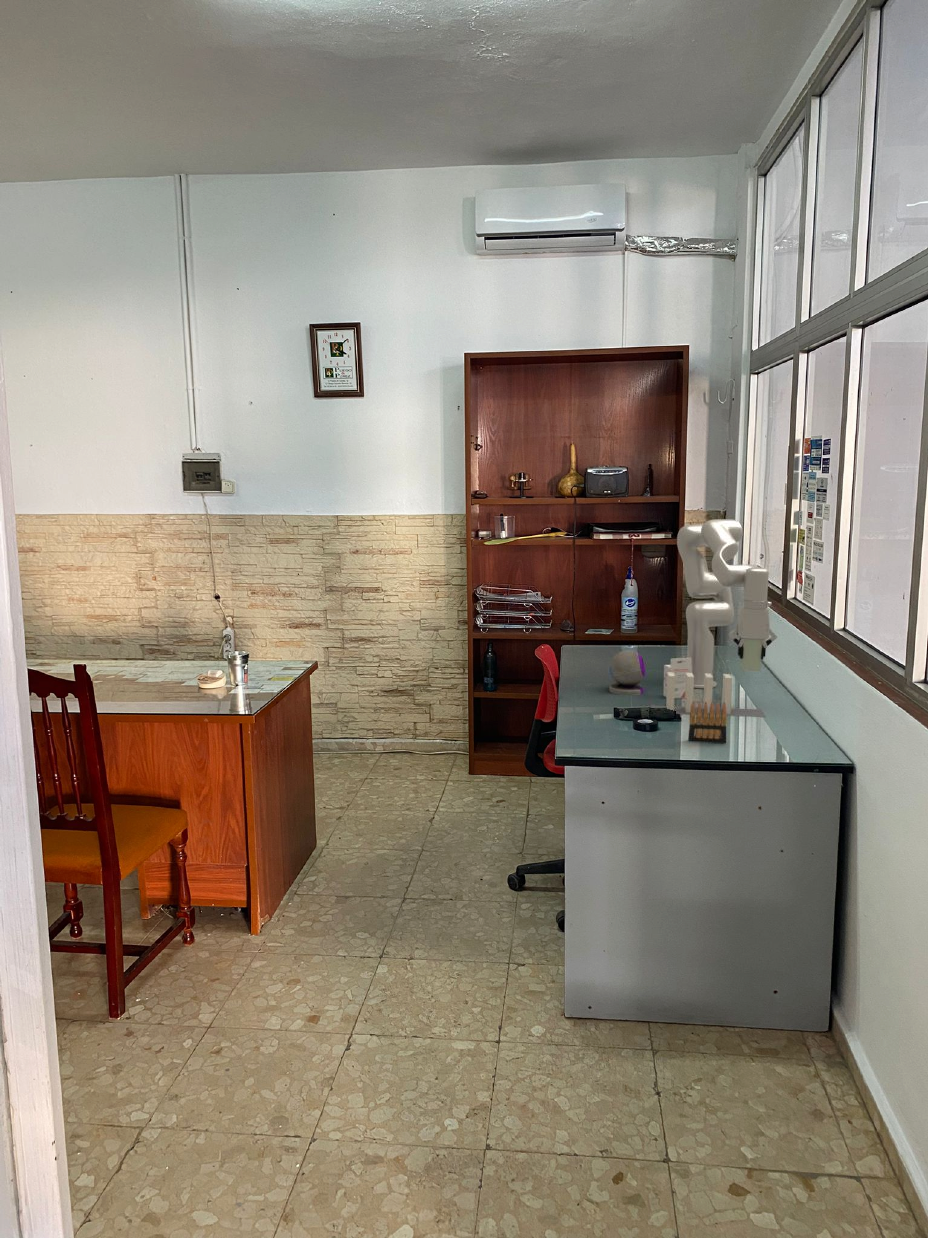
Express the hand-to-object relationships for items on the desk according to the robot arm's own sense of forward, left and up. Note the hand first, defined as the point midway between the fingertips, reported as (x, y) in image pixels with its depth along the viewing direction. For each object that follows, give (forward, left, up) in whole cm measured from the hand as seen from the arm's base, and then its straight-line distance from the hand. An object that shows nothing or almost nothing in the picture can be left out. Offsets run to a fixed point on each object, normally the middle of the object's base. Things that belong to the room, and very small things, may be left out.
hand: (751, 657), depth 303 cm
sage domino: (0, 0, -4) cm, 4 cm away
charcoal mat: (+10, -15, -17) cm, 24 cm away
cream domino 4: (+10, -9, -16) cm, 21 cm away
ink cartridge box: (-10, -23, -17) cm, 30 cm away
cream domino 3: (+10, -15, -16) cm, 24 cm away
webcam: (-18, -40, -17) cm, 47 cm away
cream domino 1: (+10, -27, -16) cm, 33 cm away
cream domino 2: (+9, -21, -16) cm, 28 cm away
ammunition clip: (+44, -19, -17) cm, 50 cm away
